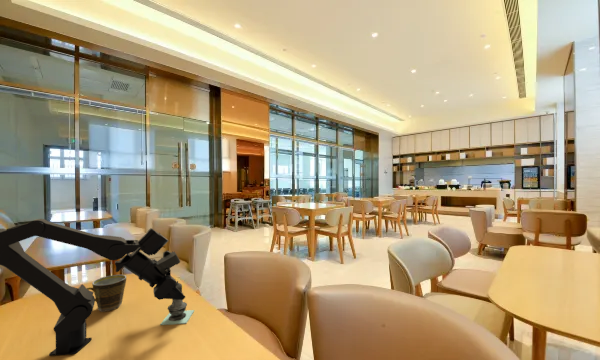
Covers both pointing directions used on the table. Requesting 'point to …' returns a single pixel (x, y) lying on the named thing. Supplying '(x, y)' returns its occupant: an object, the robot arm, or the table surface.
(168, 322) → the plate
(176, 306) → the grey stone tiered figure
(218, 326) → the table surface
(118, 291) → the ceramic cup
